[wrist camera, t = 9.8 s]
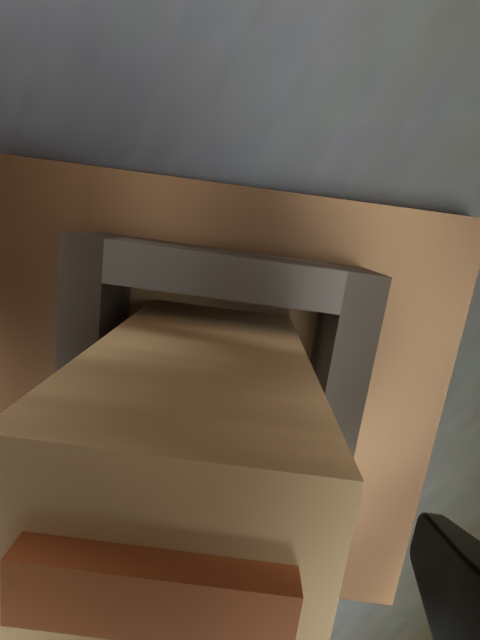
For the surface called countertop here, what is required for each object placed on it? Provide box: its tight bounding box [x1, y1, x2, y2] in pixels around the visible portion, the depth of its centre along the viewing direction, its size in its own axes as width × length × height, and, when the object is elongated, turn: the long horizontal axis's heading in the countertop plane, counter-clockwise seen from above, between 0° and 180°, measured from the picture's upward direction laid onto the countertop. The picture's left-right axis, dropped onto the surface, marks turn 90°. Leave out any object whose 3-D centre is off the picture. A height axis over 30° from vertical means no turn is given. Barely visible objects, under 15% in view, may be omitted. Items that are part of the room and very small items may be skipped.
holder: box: [0, 153, 480, 605], centre depth 12 cm, size 14×13×4 cm
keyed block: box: [0, 299, 364, 640], centre depth 9 cm, size 4×6×8 cm, turn 173°
